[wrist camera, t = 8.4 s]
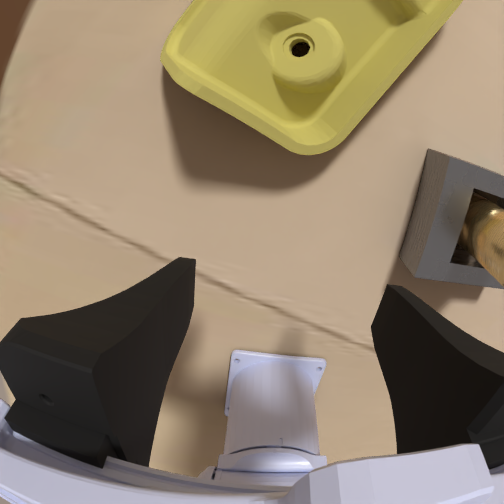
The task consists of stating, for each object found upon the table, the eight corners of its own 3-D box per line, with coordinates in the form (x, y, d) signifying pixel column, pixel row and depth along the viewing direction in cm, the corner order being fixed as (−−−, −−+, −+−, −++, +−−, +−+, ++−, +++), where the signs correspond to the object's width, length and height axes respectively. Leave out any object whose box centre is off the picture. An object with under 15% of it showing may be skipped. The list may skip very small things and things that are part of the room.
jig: (492, 271, 22) (510, 289, 19) (399, 256, 21) (414, 277, 19) (521, 183, 18) (544, 194, 15) (428, 148, 18) (450, 156, 15)
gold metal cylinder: (473, 248, 21) (522, 295, 14) (438, 233, 20) (488, 281, 14) (493, 202, 19) (550, 239, 13) (458, 183, 19) (518, 218, 12)
